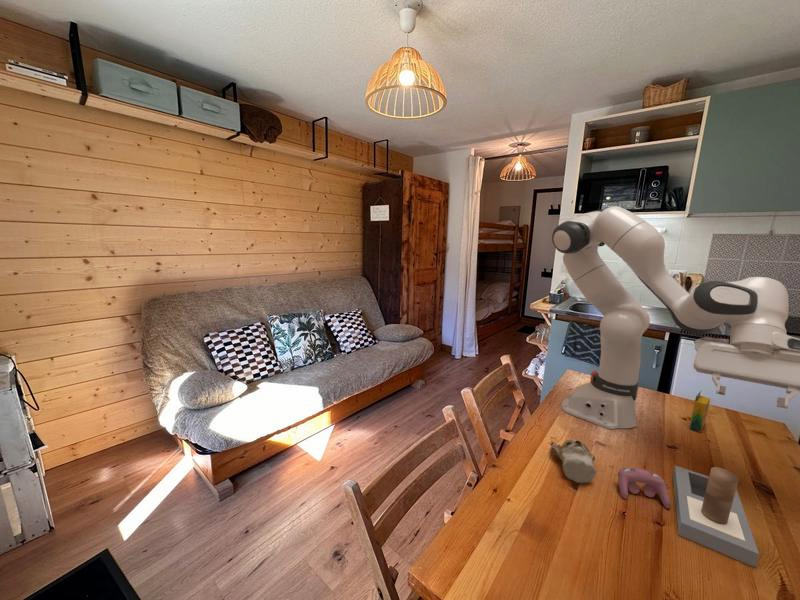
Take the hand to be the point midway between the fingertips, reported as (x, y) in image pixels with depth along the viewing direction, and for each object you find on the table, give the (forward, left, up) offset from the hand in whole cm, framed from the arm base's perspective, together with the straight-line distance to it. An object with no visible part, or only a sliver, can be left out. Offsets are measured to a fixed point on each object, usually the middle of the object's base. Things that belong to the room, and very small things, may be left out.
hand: (749, 400), depth 73 cm
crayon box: (-2, +37, -25) cm, 44 cm away
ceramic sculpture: (-31, -12, -25) cm, 42 cm away
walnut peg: (-4, -14, -22) cm, 26 cm away
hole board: (-4, -10, -25) cm, 27 cm away
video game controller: (-16, -12, -25) cm, 33 cm away
